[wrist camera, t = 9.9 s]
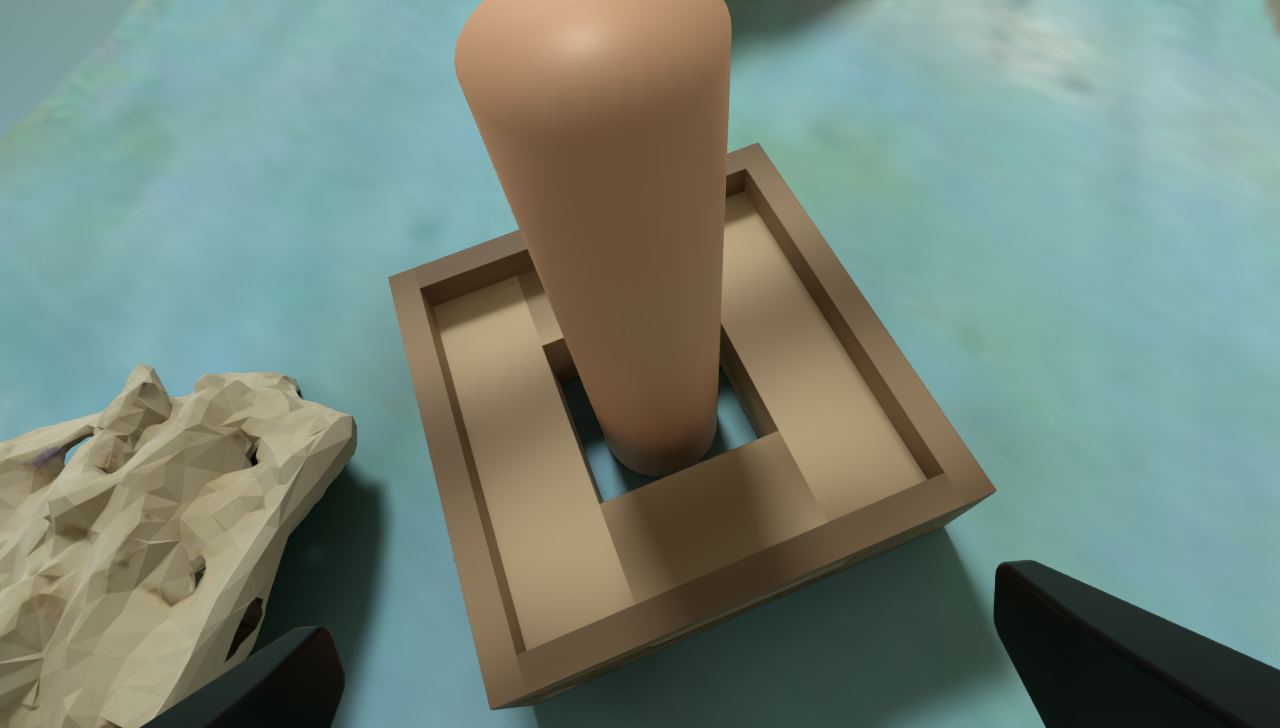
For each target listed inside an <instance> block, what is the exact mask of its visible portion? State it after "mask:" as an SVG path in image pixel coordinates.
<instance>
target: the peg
mask: <svg viewBox="0 0 1280 728" xmlns="http://www.w3.org/2000/svg"><path fill="white" fill-rule="evenodd" d="M731 38H732V27H731V17H730V14H729V11H728V7H727V5H726V3H725V1H724V0H484V1H483V2H482V3H481V4H480V5H479V6H478V7H477V8H476V10H475V11H474V12H473V13H472V15H471V16H470V17H469V19H468V20H467V22H466V24H465V25H464V27H463V29H462V31H461V33H460V36H459V38H458V41H457V46H456V50H455V68H456V74H457V77H458V80H459V83H460V85H461V88H462V90H463V93H464V95H465V97H466V100H467V102H468V105H469V107H470V110H471V112H472V115H473V117H474V119H475V122H476V124H477V127H478V129H479V132H480V134H481V136H482V139H483V141H484V144H485V146H486V149H487V151H488V154H489V156H490V158H491V161H492V163H493V166H494V168H495V171H496V173H497V176H498V178H499V180H500V183H501V185H502V188H503V190H504V193H505V195H506V197H507V200H508V202H509V205H510V207H511V210H512V212H513V215H514V217H515V219H516V222H517V224H518V227H519V229H520V232H521V234H522V237H523V239H524V241H525V244H526V246H527V249H528V251H529V254H530V256H531V258H532V261H533V263H534V266H535V268H536V271H537V273H538V276H539V278H540V280H541V283H542V285H543V288H544V290H545V293H546V295H547V297H548V300H549V302H550V305H551V307H552V310H553V312H554V315H555V317H556V319H557V322H558V324H559V327H560V329H561V332H562V334H563V337H564V339H565V341H566V344H567V346H568V349H569V351H570V354H571V356H572V358H573V361H574V363H575V366H576V368H577V371H578V373H579V376H580V378H581V380H582V383H583V385H584V388H585V390H586V393H587V395H588V398H589V400H590V402H591V405H592V407H593V410H594V412H595V415H596V417H597V419H598V422H599V424H600V427H601V429H602V432H603V434H604V437H605V439H606V441H607V444H608V446H609V448H610V450H611V452H612V453H613V455H614V456H615V457H616V458H617V459H618V460H619V461H620V462H621V463H622V464H623V465H624V466H626V467H627V468H629V469H631V470H632V471H634V472H637V473H639V474H643V475H647V476H653V477H665V476H669V475H672V474H674V473H677V472H679V471H681V470H684V469H686V468H689V467H691V466H694V465H695V464H697V463H698V462H699V461H700V460H701V459H702V458H703V457H704V456H705V455H706V453H707V452H708V450H709V449H710V447H711V445H712V443H713V440H714V438H715V434H716V427H717V405H718V379H719V352H720V326H721V300H722V274H723V248H724V221H725V195H726V169H727V143H728V117H729V90H730V64H731Z"/></svg>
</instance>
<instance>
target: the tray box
mask: <svg viewBox="0 0 1280 728" xmlns="http://www.w3.org/2000/svg"><path fill="white" fill-rule="evenodd" d="M388 279H389V283H390V287H391V292H392V296H393V300H394V304H395V309H396V313H397V317H398V321H399V325H400V330H401V334H402V338H403V342H404V347H405V351H406V355H407V359H408V364H409V368H410V372H411V376H412V380H413V385H414V389H415V393H416V397H417V402H418V406H419V410H420V414H421V419H422V423H423V427H424V431H425V435H426V440H427V444H428V448H429V452H430V457H431V461H432V465H433V469H434V474H435V478H436V482H437V486H438V490H439V495H440V499H441V503H442V507H443V512H444V516H445V520H446V524H447V529H448V533H449V537H450V541H451V545H452V550H453V554H454V558H455V562H456V567H457V571H458V575H459V579H460V584H461V588H462V592H463V596H464V600H465V605H466V609H467V613H468V617H469V622H470V626H471V630H472V634H473V639H474V643H475V647H476V651H477V655H478V660H479V664H480V668H481V672H482V677H483V681H484V685H485V689H486V694H487V698H488V702H489V706H490V710H497V709H506V708H514V707H523V706H531V705H534V704H537V703H539V702H541V701H543V700H546V699H548V698H550V697H553V696H555V695H557V694H560V693H562V692H564V691H566V690H569V689H571V688H573V687H576V686H578V685H580V684H583V683H585V682H587V681H589V680H592V679H594V678H596V677H599V676H601V675H603V674H605V673H608V672H610V671H612V670H615V669H617V668H619V667H622V666H624V665H626V664H628V663H631V662H633V661H635V660H638V659H640V658H642V657H645V656H647V655H649V654H651V653H654V652H656V651H658V650H661V649H663V648H665V647H668V646H670V645H672V644H674V643H677V642H679V641H681V640H684V639H686V638H688V637H691V636H693V635H695V634H697V633H700V632H702V631H704V630H707V629H709V628H711V627H714V626H716V625H718V624H720V623H723V622H725V621H727V620H730V619H732V618H734V617H736V616H739V615H741V614H743V613H746V612H748V611H750V610H753V609H755V608H757V607H759V606H762V605H764V604H766V603H769V602H771V601H773V600H776V599H778V598H780V597H782V596H785V595H787V594H789V593H792V592H794V591H796V590H799V589H801V588H803V587H805V586H808V585H810V584H812V583H815V582H817V581H819V580H822V579H824V578H826V577H828V576H831V575H833V574H835V573H838V572H840V571H842V570H845V569H847V568H849V567H851V566H854V565H856V564H858V563H861V562H863V561H865V560H868V559H870V558H872V557H874V556H877V555H879V554H881V553H884V552H886V551H888V550H890V549H893V548H895V547H897V546H900V545H902V544H904V543H907V542H909V541H911V540H913V539H916V538H918V537H920V536H923V535H925V534H927V533H930V532H932V531H934V530H936V529H939V528H941V527H943V526H945V525H947V524H948V523H950V522H951V521H953V520H954V519H956V518H957V517H959V516H960V515H962V514H963V513H965V512H966V511H968V510H969V509H971V508H972V507H974V506H975V505H977V504H978V503H980V502H981V501H983V500H984V499H986V498H987V497H989V496H990V495H992V494H993V493H995V492H996V491H997V490H996V489H995V487H994V486H993V484H992V483H991V481H990V480H989V479H988V477H987V476H986V474H985V473H984V471H983V470H982V468H981V467H980V465H979V464H978V462H977V461H976V460H975V458H974V457H973V455H972V454H971V452H970V451H969V449H968V448H967V446H966V445H965V443H964V442H963V441H962V439H961V438H960V436H959V435H958V433H957V432H956V430H955V429H954V427H953V426H952V425H951V423H950V422H949V420H948V419H947V417H946V416H945V414H944V413H943V411H942V410H941V408H940V407H939V406H938V404H937V403H936V401H935V400H934V398H933V397H932V395H931V394H930V392H929V391H928V389H927V388H926V387H925V385H924V384H923V382H922V381H921V379H920V378H919V376H918V375H917V373H916V372H915V371H914V369H913V368H912V366H911V365H910V363H909V362H908V360H907V359H906V357H905V356H904V354H903V353H902V352H901V350H900V349H899V347H898V346H897V344H896V343H895V341H894V340H893V338H892V337H891V336H890V334H889V333H888V331H887V330H886V328H885V327H884V325H883V324H882V322H881V321H880V319H879V318H878V317H877V315H876V314H875V312H874V311H873V309H872V308H871V306H870V305H869V303H868V302H867V300H866V299H865V298H864V296H863V295H862V293H861V292H860V290H859V289H858V287H857V286H856V284H855V283H854V282H853V280H852V279H851V277H850V276H849V274H848V273H847V271H846V270H845V268H844V267H843V265H842V264H841V263H840V261H839V260H838V258H837V257H836V255H835V254H834V252H833V251H832V249H831V248H830V246H829V245H828V244H827V242H826V241H825V239H824V238H823V236H822V235H821V233H820V232H819V230H818V229H817V228H816V226H815V225H814V223H813V222H812V220H811V219H810V217H809V216H808V214H807V213H806V211H805V210H804V209H803V207H802V206H801V204H800V203H799V201H798V200H797V198H796V197H795V195H794V194H793V192H792V191H791V190H790V188H789V187H788V185H787V184H786V182H785V181H784V179H783V178H782V176H781V175H780V174H779V172H778V171H777V169H776V168H775V166H774V165H773V163H772V162H771V160H770V159H769V157H768V156H767V155H766V153H765V152H764V150H763V149H762V147H761V146H760V144H759V143H756V144H753V145H750V146H747V147H745V148H742V149H739V150H736V151H734V152H731V153H728V154H727V169H726V195H725V221H724V248H723V274H722V300H721V326H720V352H719V362H720V364H721V366H722V368H723V370H724V372H725V374H726V376H727V378H728V380H729V382H730V384H731V386H732V388H733V390H734V392H735V393H736V395H737V397H738V399H739V401H740V403H741V405H742V407H743V409H744V411H745V413H746V415H747V417H748V419H749V421H750V423H751V425H752V426H753V428H754V430H755V432H756V434H757V436H758V438H759V439H757V440H755V441H752V442H750V443H747V444H745V445H743V446H740V447H738V448H735V449H733V450H730V451H728V452H725V453H723V454H721V455H718V456H716V457H713V458H711V459H708V460H706V461H703V462H701V463H699V464H696V465H694V466H691V467H689V468H686V469H684V470H681V471H679V472H677V473H674V474H672V475H669V476H667V477H664V478H662V479H660V480H657V481H655V482H652V483H650V484H647V485H645V486H642V487H640V488H638V489H635V490H633V491H630V492H628V493H625V494H623V495H620V496H618V497H616V498H613V499H611V500H608V501H606V502H603V499H602V497H601V494H600V491H599V488H598V486H597V483H596V480H595V478H594V475H593V472H592V469H591V467H590V464H589V461H588V458H587V456H586V453H585V450H584V447H583V445H582V442H581V439H580V437H579V434H578V431H577V428H576V426H575V423H574V420H573V417H572V415H571V412H570V409H569V406H568V404H567V401H566V398H565V395H564V393H563V390H562V387H561V385H560V383H561V382H563V381H566V380H568V379H571V378H574V377H576V376H579V373H578V371H577V368H576V366H575V363H574V361H573V358H572V356H571V354H570V351H569V349H568V346H567V344H566V341H565V339H564V337H563V334H562V332H561V329H560V327H559V324H558V322H557V319H556V317H555V315H554V312H553V310H552V307H551V305H550V302H549V300H548V297H547V295H546V293H545V290H544V288H543V285H542V283H541V280H540V278H539V276H538V273H537V271H536V268H535V266H534V263H533V261H532V258H531V256H530V254H529V251H528V249H527V246H526V244H525V241H524V239H523V237H522V234H521V232H520V230H517V231H514V232H512V233H509V234H506V235H503V236H501V237H498V238H495V239H492V240H490V241H487V242H484V243H481V244H479V245H476V246H473V247H470V248H468V249H465V250H462V251H459V252H457V253H454V254H451V255H448V256H446V257H443V258H440V259H437V260H435V261H432V262H429V263H427V264H424V265H421V266H418V267H416V268H413V269H410V270H407V271H405V272H402V273H399V274H396V275H394V276H391V277H388Z"/></svg>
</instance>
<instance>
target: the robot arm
mask: <svg viewBox="0 0 1280 728" xmlns="http://www.w3.org/2000/svg"><path fill="white" fill-rule="evenodd" d="M993 614H994V623H995V627H996V630H997V633H998V635H999V637H1000V639H1001V641H1002V643H1003V645H1004V647H1005V649H1006V651H1007V653H1008V655H1009V657H1010V659H1011V661H1012V663H1013V665H1014V667H1015V669H1016V671H1017V673H1018V674H1019V676H1020V678H1021V680H1022V682H1023V684H1024V686H1025V688H1026V690H1027V692H1028V694H1029V696H1030V698H1031V700H1032V702H1033V704H1034V706H1035V708H1036V709H1037V711H1038V713H1039V715H1040V717H1041V719H1042V721H1043V723H1044V725H1045V727H1046V728H1280V670H1279V669H1276V668H1274V667H1272V666H1270V665H1267V664H1265V663H1263V662H1261V661H1258V660H1256V659H1254V658H1252V657H1249V656H1247V655H1245V654H1243V653H1240V652H1238V651H1236V650H1234V649H1232V648H1229V647H1227V646H1225V645H1223V644H1220V643H1218V642H1216V641H1214V640H1211V639H1209V638H1207V637H1205V636H1202V635H1200V634H1198V633H1196V632H1193V631H1191V630H1189V629H1187V628H1184V627H1182V626H1180V625H1178V624H1175V623H1173V622H1171V621H1169V620H1166V619H1164V618H1162V617H1160V616H1157V615H1155V614H1153V613H1151V612H1148V611H1146V610H1144V609H1142V608H1139V607H1137V606H1135V605H1133V604H1130V603H1128V602H1126V601H1124V600H1122V599H1119V598H1117V597H1115V596H1113V595H1110V594H1108V593H1106V592H1104V591H1101V590H1099V589H1097V588H1095V587H1092V586H1090V585H1088V584H1086V583H1083V582H1081V581H1079V580H1077V579H1074V578H1072V577H1070V576H1068V575H1065V574H1063V573H1061V572H1059V571H1056V570H1054V569H1052V568H1050V567H1047V566H1045V565H1043V564H1041V563H1038V562H1036V561H1033V560H1021V561H1010V562H1003V563H1001V564H1000V565H998V567H997V569H996V574H995V592H994V613H993ZM344 686H345V674H344V669H343V666H342V663H341V660H340V656H339V653H338V650H337V647H336V644H335V640H334V637H333V634H332V632H331V630H330V629H329V628H328V627H327V626H324V625H315V626H304V627H297V628H294V629H292V630H291V631H289V632H288V633H286V634H284V635H283V636H281V637H280V638H278V639H277V640H275V641H274V642H272V643H270V644H269V645H267V646H266V647H264V648H263V649H261V650H259V651H258V652H256V653H255V654H253V655H252V656H250V657H249V658H247V659H245V660H244V661H242V662H241V663H239V664H238V665H236V666H234V667H233V668H231V669H230V670H228V671H227V672H225V673H224V674H222V675H220V676H219V677H217V678H216V679H214V680H213V681H211V682H210V683H208V684H206V685H205V686H203V687H202V688H200V689H199V690H197V691H195V692H194V693H192V694H191V695H189V696H188V697H186V698H185V699H183V700H181V701H180V702H178V703H177V704H175V705H174V706H172V707H170V708H169V709H167V710H166V711H164V712H163V713H161V714H160V715H158V716H156V717H155V718H153V719H152V720H150V721H149V722H147V723H145V724H144V725H142V726H141V727H139V728H331V726H332V723H333V720H334V717H335V714H336V712H337V709H338V706H339V703H340V700H341V697H342V694H343V691H344Z"/></svg>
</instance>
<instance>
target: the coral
mask: <svg viewBox="0 0 1280 728" xmlns="http://www.w3.org/2000/svg"><path fill="white" fill-rule="evenodd" d="M194 390H195V391H194V392H193V393H191V394H189V395H186V396H183V397H175V398H173V397H170V396H168V394H167V392H166V391H165V389H164V387H163V385H162V383H161V381H160V379H159V377H158V376H157V374H156V372H155V370H154V368H153V367H150V366H148V365H145V364H142V363H139V365H138V366H137V367H136V368H135V370H134V371H133V372H132V373H131V374H130V376H129V378H128V381H127V383H126V386H125V389H124V391H123V392H122V393H121V394H120V395H119V396H118V397H117V398H115V399H114V400H113V401H112V402H111V404H110V405H109V406H108V407H107V408H106V409H105V410H104V411H103V412H99V413H96V414H92V415H89V416H85V417H82V418H78V419H74V420H70V421H66V422H63V423H59V424H55V425H51V426H46V427H41V428H38V429H34V430H32V431H30V432H27V433H25V434H23V435H21V436H19V437H17V438H15V439H12V440H8V441H5V442H0V728H139V727H141V726H142V725H144V724H145V723H147V722H149V721H150V720H152V719H153V718H155V717H156V716H158V715H160V714H161V713H163V712H164V711H166V710H167V709H169V708H170V707H172V706H174V705H175V704H177V703H178V702H180V701H181V700H183V699H185V698H186V697H188V696H189V695H191V694H192V693H194V692H195V691H197V690H199V689H200V688H202V687H203V686H205V685H206V684H208V683H210V682H211V681H213V680H214V679H216V678H217V677H219V676H220V675H222V674H224V673H225V672H227V671H228V670H230V669H231V668H233V667H234V666H236V665H238V664H239V663H241V662H242V661H244V660H245V659H246V657H247V656H248V654H249V653H250V652H251V650H252V649H253V647H254V644H255V641H256V639H257V636H258V633H259V630H260V627H261V625H262V622H263V619H264V616H265V610H266V604H267V601H268V597H269V594H270V591H271V588H272V585H273V582H274V579H275V575H276V572H277V569H278V566H279V563H280V560H281V557H282V554H283V551H284V548H285V545H286V542H287V539H288V536H289V535H290V534H291V533H292V532H293V531H294V529H295V528H296V527H297V526H298V525H299V524H300V522H301V521H302V520H303V519H304V518H305V517H306V516H307V514H308V513H309V512H310V511H311V509H312V507H313V506H314V505H315V504H316V503H317V502H318V501H319V500H320V499H321V498H322V497H323V495H324V493H325V491H326V489H327V487H328V486H329V485H330V484H331V483H332V481H333V480H334V479H335V478H336V477H337V476H338V475H339V474H340V472H341V471H342V469H343V468H344V466H345V465H346V464H347V462H348V461H349V460H350V459H351V457H352V456H353V455H354V453H355V450H356V446H357V426H356V423H355V421H354V419H353V416H352V415H349V414H345V413H342V412H339V411H336V410H334V409H331V408H328V407H325V406H324V405H322V404H320V403H317V402H312V401H306V400H303V399H301V398H300V397H299V396H298V394H297V392H298V391H299V390H300V389H299V386H298V384H297V382H296V380H295V379H293V378H291V377H289V376H286V375H282V374H278V373H274V372H255V373H245V374H241V373H235V372H231V373H225V374H220V375H217V374H204V375H203V376H202V377H201V378H200V379H199V380H198V381H197V383H196V384H195V386H194ZM92 436H93V437H92ZM87 437H92V438H90V439H89V440H88V441H87V442H85V443H84V444H83V445H82V446H80V447H79V448H78V450H77V451H76V452H75V454H74V455H73V457H72V458H71V459H70V461H69V462H68V464H67V465H66V466H65V465H64V461H65V455H66V453H67V452H68V451H69V450H70V449H71V448H72V447H74V446H75V445H77V444H78V443H80V442H82V441H83V440H84V439H86V438H87ZM257 448H258V450H257V453H256V458H257V461H258V464H257V465H255V466H253V465H252V462H251V460H250V458H251V457H252V455H253V454H254V452H255V451H256V449H257Z"/></svg>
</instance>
